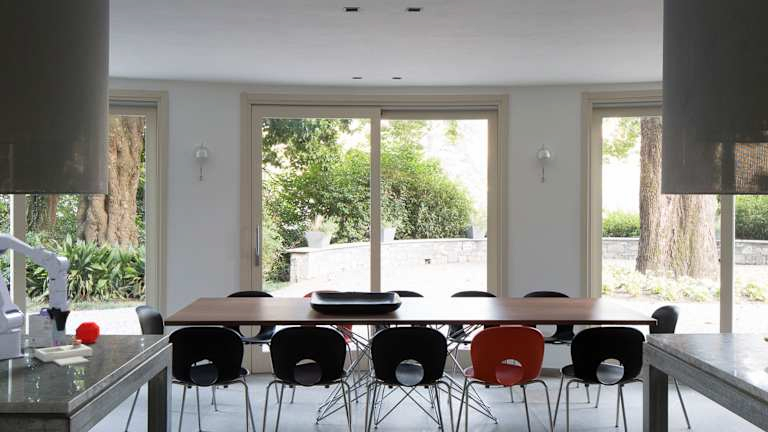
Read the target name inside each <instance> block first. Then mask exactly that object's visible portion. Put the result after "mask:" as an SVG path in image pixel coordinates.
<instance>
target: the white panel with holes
mask: <svg viewBox="0 0 768 432" xmlns="http://www.w3.org/2000/svg"><path fill="white" fill-rule="evenodd" d="M77 356H81V357H83V358H85V357H92V356H93V348H92V347H90V346H87V345H86V344H84V343H83V344H81V348H75V349H73V344H68V345H58V346H55V347H41V348H36V349H35V348H34V357H35V358H37V359H38V360H40V361H42V362H43V363H46V362H47V363H48V362H53V360H54V359H62V358H70V357H77Z"/></svg>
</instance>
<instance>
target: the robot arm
mask: <svg viewBox="0 0 768 432" xmlns="http://www.w3.org/2000/svg"><path fill="white" fill-rule="evenodd" d="M9 249H11V250H13V251H15V252H17V253H20V254H23V255H25V256H27V257H28V259H29V261H30V262H32V263H33V264H36V265H37V266H40V267H42V268H44V269H45V271H46V272H47V277H48V308H51V309H45V310H46V311H47V313H48V314H49V316H50V319H51V323H52V319H54V317H55V321H56V327H57V331H64V329H65V325H66V324H67V320H68V318H69V315H70V313H71V310H69V309H68V308H69V307H68V306H70V305H72V302H69V301H68V273H67V271H68V270H69V269H70V267H71V261H70V260H69V258H68V257H67V256H65V255H58V254H57V252H52V251H49V250H47V249H46V247H45V246H35V247H33V246H32V245H29V244H28V243H26V242H24V241H22V240H21V239H19V238H17V237H15V236H14V235H13V234H9V233H7V232H0V258H1V257H2V256H3V255H4V254H5V253H6V252H7V251H8V250H9ZM25 324H26V316H25V314H24V313H23V312H22V311H21V309H20V307H19V306H18V305H17V304H15V303H14V302H13V301H12V297H11V295H10V292H9V289H8V285H7V284H6V279H5V277H4V275H3V272H2V269H1V267H0V360H8V359H15V358H22V357H23V358H24V357H25V354H23V353H22V347H21V346H22V343H21V342H22V339H21V338H22V337H21V335H22V334H21V333H22V327H24V325H25Z"/></svg>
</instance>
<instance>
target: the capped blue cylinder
mask: <svg viewBox="0 0 768 432" xmlns="http://www.w3.org/2000/svg"><path fill="white" fill-rule="evenodd" d="M66 330H67V328H66V325H65V329H64V331H57V327H56V321H55V317H54V319H52V340H54V341H58V340H60V341H65V340H66V338H67V335H66V334H67V332H66Z"/></svg>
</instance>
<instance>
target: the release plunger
mask: <svg viewBox="0 0 768 432" xmlns="http://www.w3.org/2000/svg"><path fill="white" fill-rule="evenodd" d="M81 343H82V340H77V339H72V340H71V345H73V349H75V348H81Z"/></svg>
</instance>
